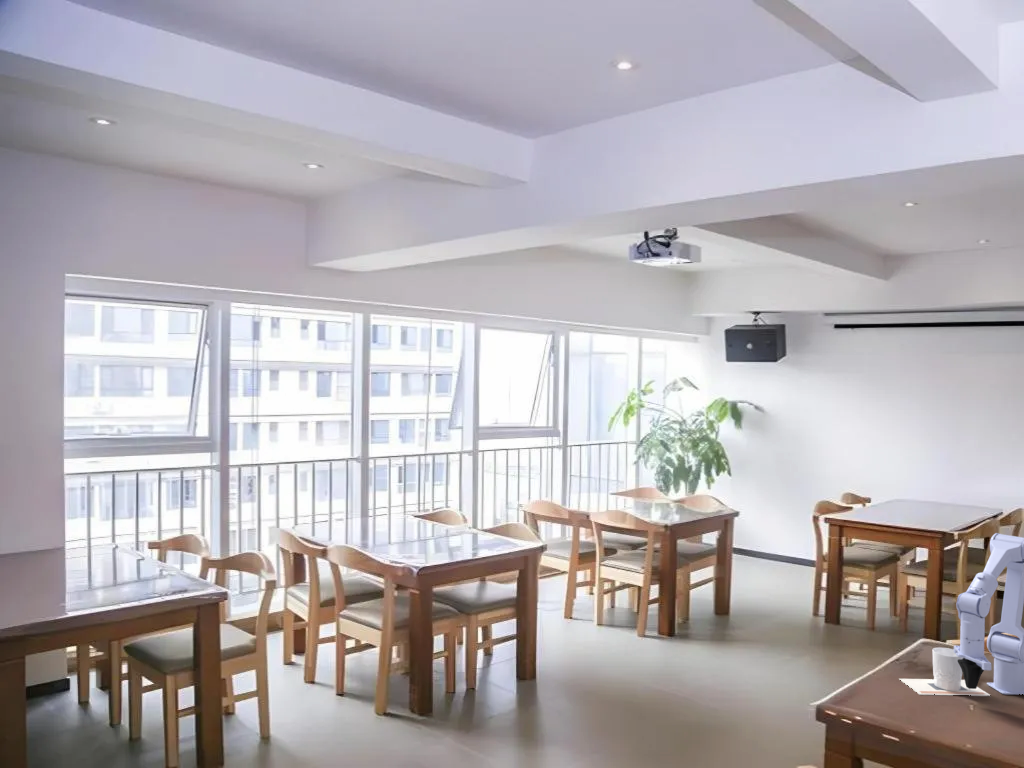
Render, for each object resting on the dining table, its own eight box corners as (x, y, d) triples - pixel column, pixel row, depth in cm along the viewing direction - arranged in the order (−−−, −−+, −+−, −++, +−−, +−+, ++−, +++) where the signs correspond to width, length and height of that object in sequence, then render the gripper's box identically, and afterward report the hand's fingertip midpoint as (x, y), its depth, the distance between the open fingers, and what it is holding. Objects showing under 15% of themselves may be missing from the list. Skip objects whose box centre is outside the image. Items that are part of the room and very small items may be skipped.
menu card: (966, 680, 237) (966, 679, 237) (990, 696, 225) (990, 695, 225) (898, 679, 237) (898, 678, 237) (919, 694, 225) (919, 694, 225)
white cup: (968, 692, 227) (969, 656, 227) (940, 691, 228) (941, 656, 228) (953, 682, 235) (954, 647, 235) (926, 681, 235) (927, 647, 235)
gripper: (943, 629, 227) (942, 677, 227) (973, 646, 212) (972, 697, 212) (968, 630, 227) (967, 678, 227) (999, 646, 212) (998, 698, 212)
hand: (971, 687), depth 219 cm, fingers closed
